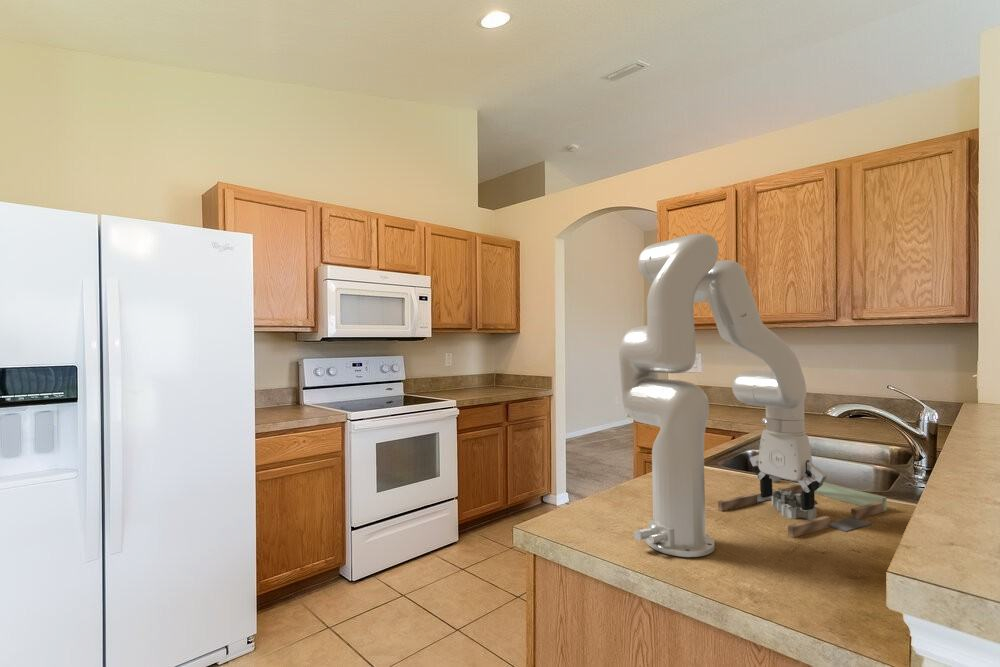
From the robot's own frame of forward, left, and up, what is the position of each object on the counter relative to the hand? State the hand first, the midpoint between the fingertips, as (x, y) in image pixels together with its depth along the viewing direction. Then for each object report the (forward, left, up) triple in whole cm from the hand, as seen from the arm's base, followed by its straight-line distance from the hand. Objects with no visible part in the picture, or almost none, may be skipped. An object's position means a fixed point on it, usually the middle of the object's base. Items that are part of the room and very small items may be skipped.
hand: (786, 502), depth 112 cm
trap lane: (+5, 0, -3) cm, 6 cm away
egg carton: (+3, +1, -3) cm, 4 cm away
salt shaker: (+21, +19, -3) cm, 28 cm away
